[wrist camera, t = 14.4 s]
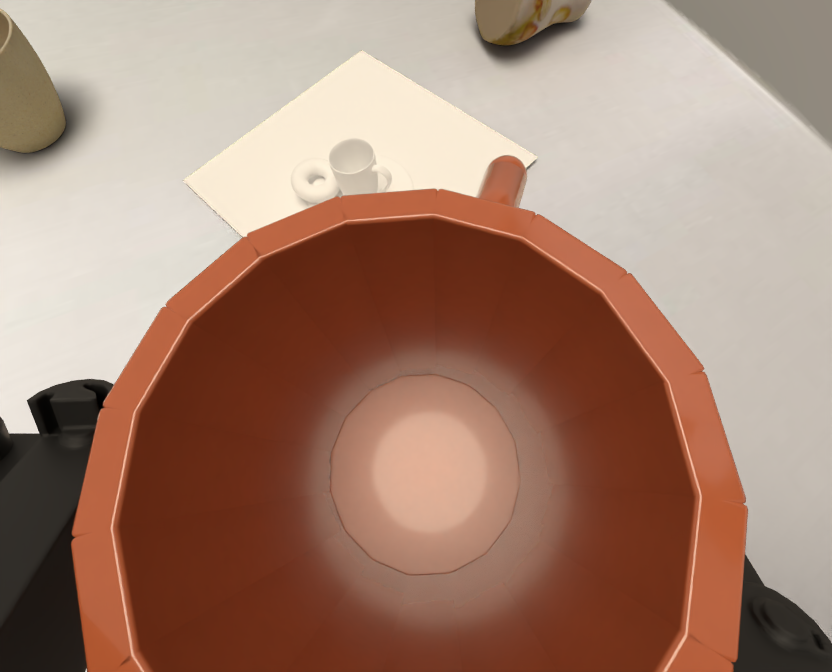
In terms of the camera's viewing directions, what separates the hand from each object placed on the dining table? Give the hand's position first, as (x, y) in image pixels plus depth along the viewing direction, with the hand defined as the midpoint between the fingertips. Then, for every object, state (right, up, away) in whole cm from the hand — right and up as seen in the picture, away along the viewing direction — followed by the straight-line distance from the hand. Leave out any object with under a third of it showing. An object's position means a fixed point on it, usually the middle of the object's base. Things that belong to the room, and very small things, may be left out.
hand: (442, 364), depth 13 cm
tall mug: (0, -3, +3) cm, 4 cm away
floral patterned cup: (+9, +29, +22) cm, 38 cm away
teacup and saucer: (-6, +14, +17) cm, 23 cm away
